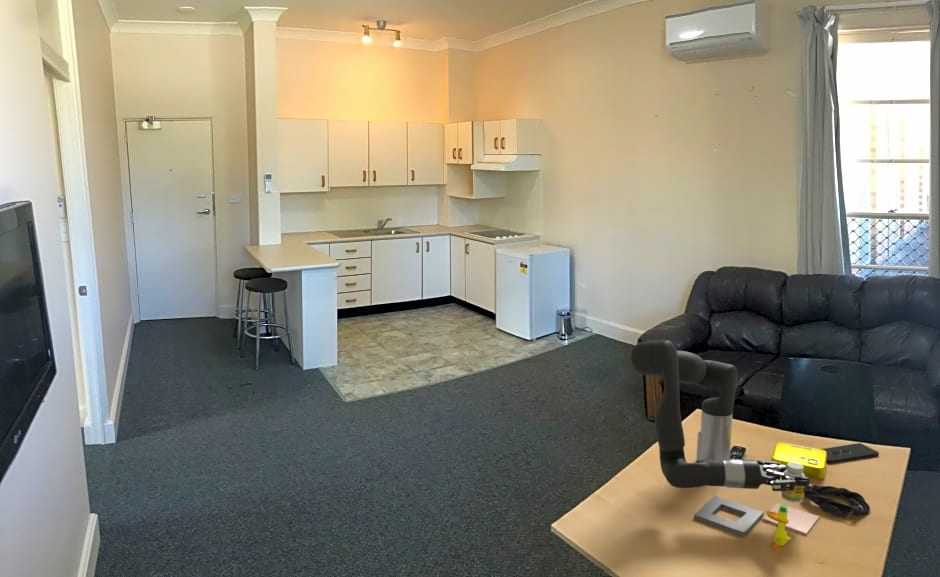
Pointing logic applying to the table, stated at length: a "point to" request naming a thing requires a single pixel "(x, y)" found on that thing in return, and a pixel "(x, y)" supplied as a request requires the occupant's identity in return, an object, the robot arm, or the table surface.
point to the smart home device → (849, 453)
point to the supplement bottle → (798, 492)
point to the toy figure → (780, 526)
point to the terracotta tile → (795, 519)
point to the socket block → (739, 528)
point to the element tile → (802, 458)
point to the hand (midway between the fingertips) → (804, 476)
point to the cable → (833, 506)
